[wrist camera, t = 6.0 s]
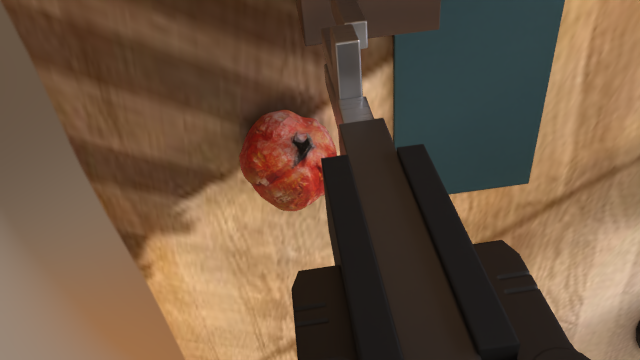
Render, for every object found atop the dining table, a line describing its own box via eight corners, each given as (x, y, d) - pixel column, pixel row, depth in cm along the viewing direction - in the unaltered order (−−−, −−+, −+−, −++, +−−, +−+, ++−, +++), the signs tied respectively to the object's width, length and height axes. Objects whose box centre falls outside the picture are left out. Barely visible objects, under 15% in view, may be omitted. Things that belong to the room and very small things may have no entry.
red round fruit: (314, 160, 47) (378, 128, 39) (284, 234, 44) (346, 217, 36) (242, 117, 45) (293, 73, 36) (206, 192, 42) (252, 163, 33)
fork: (309, -11, 21) (484, 573, 6) (348, -16, 21) (631, 547, 6) (322, 116, 25) (451, 687, 9) (356, 111, 25) (542, 671, 9)
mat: (393, 2, 37) (394, 4, 37) (565, -19, 38) (568, -17, 37) (393, 199, 48) (394, 202, 48) (526, 180, 49) (528, 183, 48)
